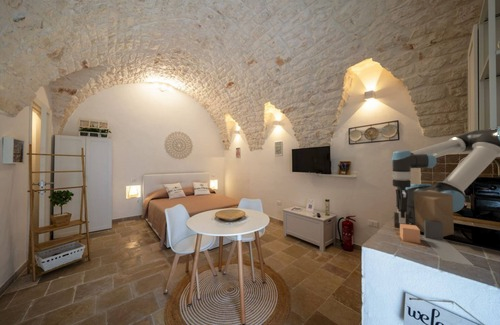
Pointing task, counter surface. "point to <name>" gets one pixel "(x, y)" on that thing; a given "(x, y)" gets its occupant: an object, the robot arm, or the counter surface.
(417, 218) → the wooden block
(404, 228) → the terracotta cube
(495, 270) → the counter surface
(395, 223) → the walnut strip
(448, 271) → the counter surface
